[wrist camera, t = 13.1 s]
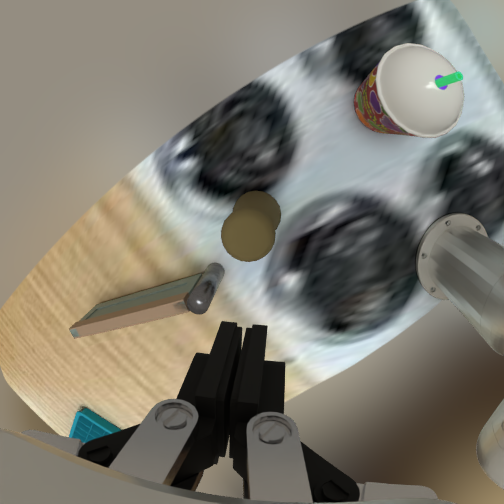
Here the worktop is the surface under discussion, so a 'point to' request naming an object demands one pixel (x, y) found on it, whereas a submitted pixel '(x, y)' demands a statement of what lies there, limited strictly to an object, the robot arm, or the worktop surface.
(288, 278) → the worktop surface
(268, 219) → the cork
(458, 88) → the smoothie
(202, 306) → the gate posts
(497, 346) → the robot arm
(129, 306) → the gate
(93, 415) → the ice cube tray
